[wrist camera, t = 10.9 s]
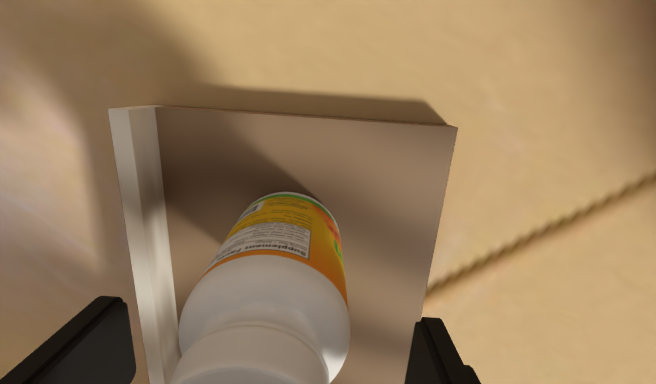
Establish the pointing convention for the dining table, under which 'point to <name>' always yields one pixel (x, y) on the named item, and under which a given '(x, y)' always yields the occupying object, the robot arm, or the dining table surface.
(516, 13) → the dining table surface
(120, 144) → the thin taupe panel
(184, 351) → the supplement bottle
